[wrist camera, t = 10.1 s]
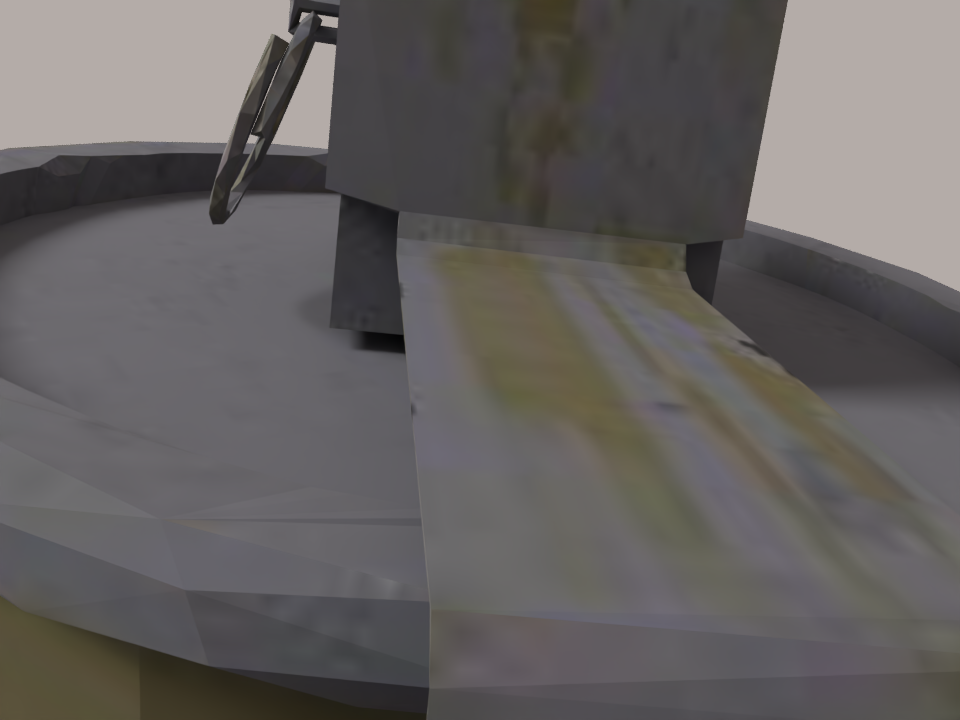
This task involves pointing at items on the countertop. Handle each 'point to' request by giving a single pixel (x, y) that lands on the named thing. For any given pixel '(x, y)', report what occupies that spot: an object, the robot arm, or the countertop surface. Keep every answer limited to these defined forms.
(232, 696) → the canister
